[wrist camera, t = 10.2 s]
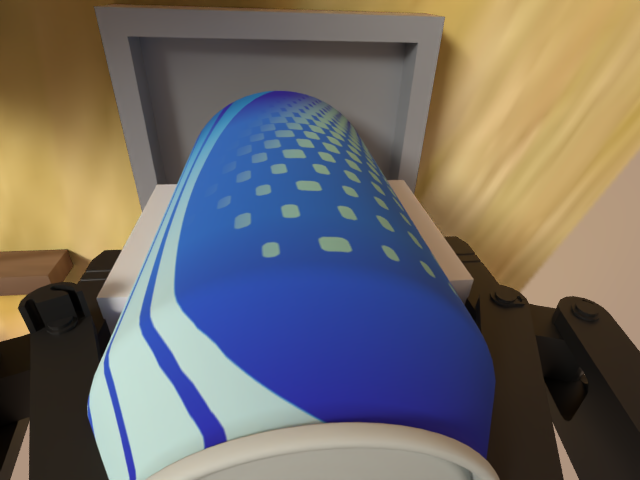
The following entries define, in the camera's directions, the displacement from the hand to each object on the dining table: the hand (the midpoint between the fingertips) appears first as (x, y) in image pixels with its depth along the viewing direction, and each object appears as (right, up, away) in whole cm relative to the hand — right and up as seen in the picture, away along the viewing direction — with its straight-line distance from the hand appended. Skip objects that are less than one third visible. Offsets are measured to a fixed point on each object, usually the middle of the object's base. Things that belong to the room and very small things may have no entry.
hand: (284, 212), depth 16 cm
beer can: (-1, +2, +4) cm, 4 cm away
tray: (-1, +3, +5) cm, 6 cm away
